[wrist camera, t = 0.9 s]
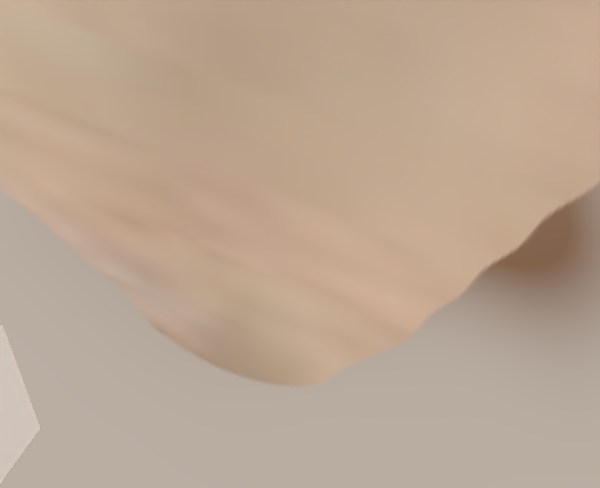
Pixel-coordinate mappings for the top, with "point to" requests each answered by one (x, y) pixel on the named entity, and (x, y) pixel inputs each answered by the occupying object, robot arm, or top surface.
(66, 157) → the top surface
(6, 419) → the robot arm
